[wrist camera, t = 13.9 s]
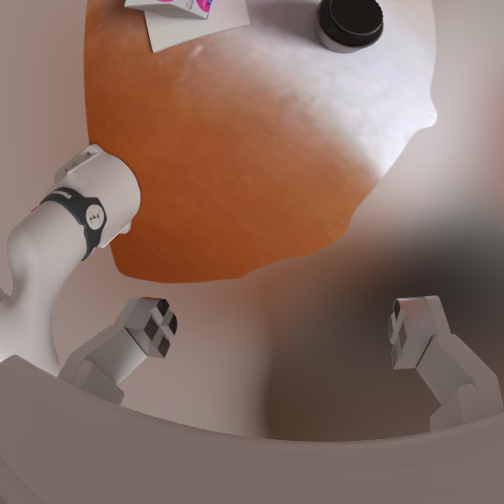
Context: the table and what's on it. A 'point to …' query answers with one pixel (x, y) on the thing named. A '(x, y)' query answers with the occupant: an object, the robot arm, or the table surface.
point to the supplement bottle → (348, 24)
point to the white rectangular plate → (196, 24)
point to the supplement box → (173, 7)
